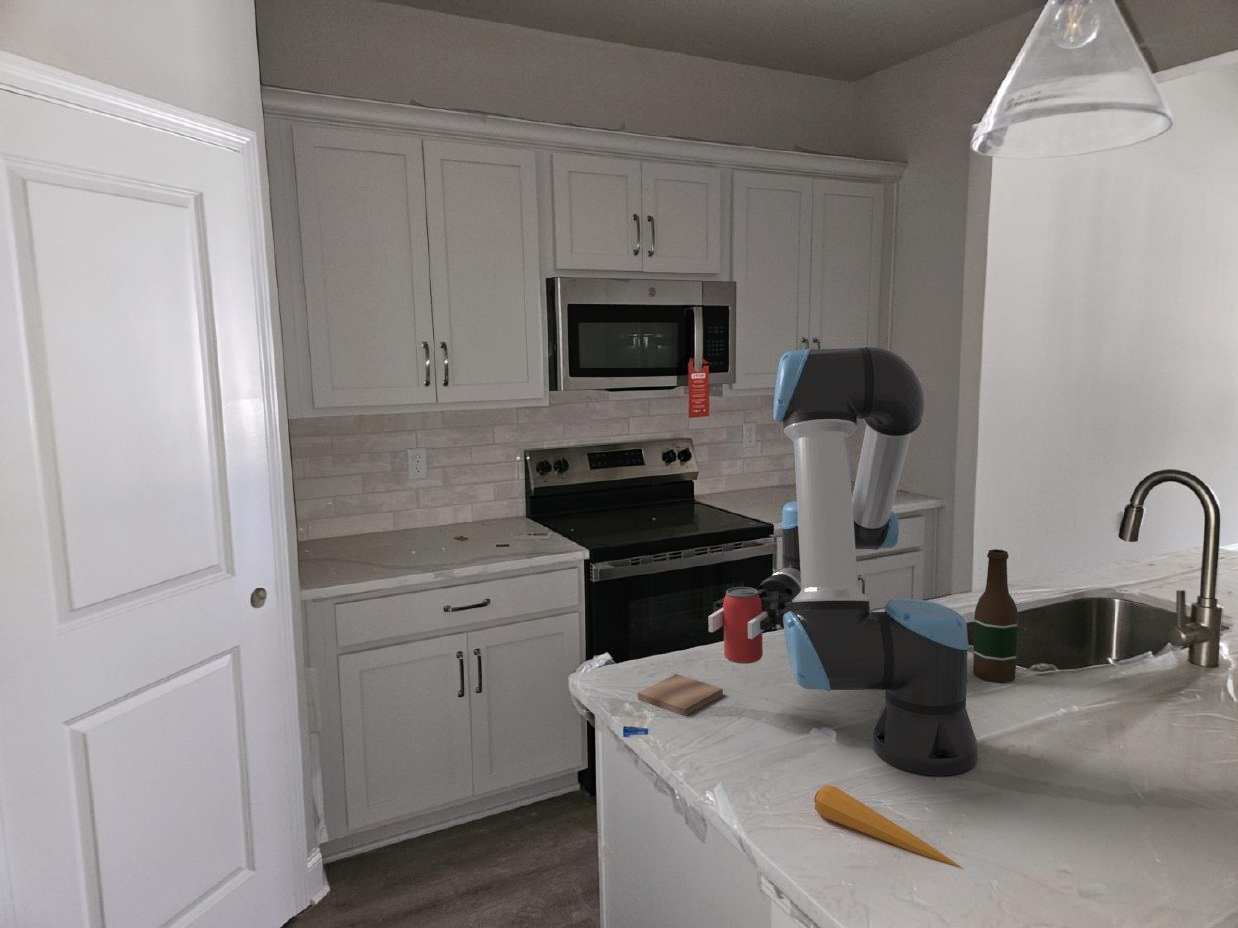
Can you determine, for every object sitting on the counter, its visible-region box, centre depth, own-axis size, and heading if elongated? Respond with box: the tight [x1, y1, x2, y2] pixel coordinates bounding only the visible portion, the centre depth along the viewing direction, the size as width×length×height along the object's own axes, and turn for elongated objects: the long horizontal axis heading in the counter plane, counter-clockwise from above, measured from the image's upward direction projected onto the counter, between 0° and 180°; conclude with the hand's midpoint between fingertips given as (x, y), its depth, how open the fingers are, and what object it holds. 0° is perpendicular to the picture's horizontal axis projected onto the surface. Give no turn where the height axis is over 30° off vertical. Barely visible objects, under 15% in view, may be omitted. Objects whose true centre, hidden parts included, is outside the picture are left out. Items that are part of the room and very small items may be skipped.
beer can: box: [723, 586, 764, 665], centre depth 142 cm, size 7×7×12 cm
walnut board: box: [637, 673, 724, 716], centre depth 150 cm, size 11×11×1 cm
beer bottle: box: [972, 548, 1019, 684], centre depth 152 cm, size 8×8×24 cm
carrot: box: [814, 784, 965, 870], centre depth 105 cm, size 20×4×4 cm, turn 47°
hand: (730, 627), depth 138 cm, fingers closed on beer can, 6 cm apart
